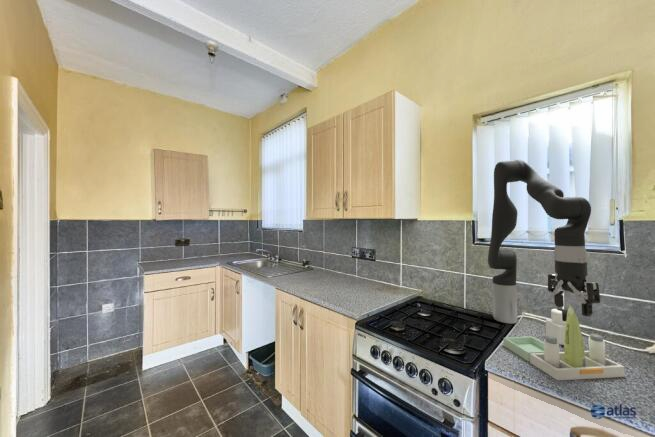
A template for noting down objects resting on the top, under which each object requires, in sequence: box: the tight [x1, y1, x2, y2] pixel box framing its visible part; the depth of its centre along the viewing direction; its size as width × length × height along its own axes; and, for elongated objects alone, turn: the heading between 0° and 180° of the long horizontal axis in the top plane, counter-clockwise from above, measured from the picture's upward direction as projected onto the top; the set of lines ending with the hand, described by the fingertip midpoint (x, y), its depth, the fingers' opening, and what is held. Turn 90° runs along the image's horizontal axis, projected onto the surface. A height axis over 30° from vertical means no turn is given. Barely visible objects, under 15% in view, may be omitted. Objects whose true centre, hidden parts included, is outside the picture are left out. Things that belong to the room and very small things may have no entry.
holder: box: [530, 350, 626, 381], centre depth 80 cm, size 10×21×3 cm, turn 93°
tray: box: [503, 336, 561, 363], centre depth 91 cm, size 11×11×3 cm
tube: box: [563, 304, 586, 368], centre depth 81 cm, size 6×5×20 cm
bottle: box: [543, 335, 560, 369], centre depth 80 cm, size 4×4×10 cm
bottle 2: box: [588, 333, 607, 366], centre depth 81 cm, size 4×4×10 cm
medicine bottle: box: [545, 308, 568, 346], centre depth 99 cm, size 7×7×12 cm
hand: (572, 311), depth 81 cm, fingers open, 8 cm apart
